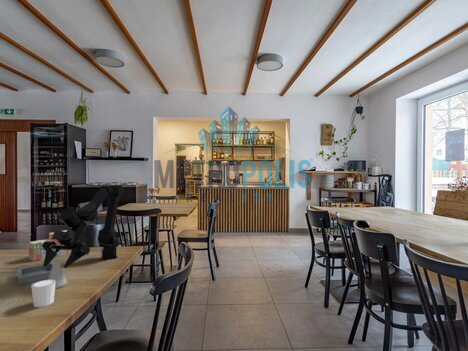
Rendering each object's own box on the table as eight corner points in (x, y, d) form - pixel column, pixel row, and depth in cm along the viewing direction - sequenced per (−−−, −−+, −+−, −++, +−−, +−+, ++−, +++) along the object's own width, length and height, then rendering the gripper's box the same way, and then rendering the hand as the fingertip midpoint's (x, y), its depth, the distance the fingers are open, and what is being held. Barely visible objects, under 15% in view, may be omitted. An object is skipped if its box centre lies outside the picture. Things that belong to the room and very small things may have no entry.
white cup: (39, 298, 93) (39, 279, 93) (60, 297, 93) (59, 278, 93) (26, 308, 86) (26, 287, 86) (47, 307, 86) (47, 287, 86)
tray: (54, 268, 122) (54, 262, 122) (57, 277, 112) (57, 270, 112) (17, 275, 113) (17, 269, 113) (18, 285, 103) (18, 278, 103)
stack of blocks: (33, 262, 131) (33, 238, 131) (28, 259, 134) (28, 236, 134) (78, 251, 148) (78, 230, 148) (73, 249, 152) (73, 229, 152)
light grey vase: (55, 290, 99) (55, 264, 99) (40, 288, 101) (40, 263, 101) (71, 282, 106) (71, 258, 106) (56, 281, 108) (56, 257, 108)
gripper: (45, 222, 109) (20, 256, 98) (85, 223, 107) (64, 258, 96) (60, 236, 117) (38, 269, 106) (97, 237, 114) (79, 271, 103)
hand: (54, 267), depth 103 cm, fingers open, 9 cm apart
